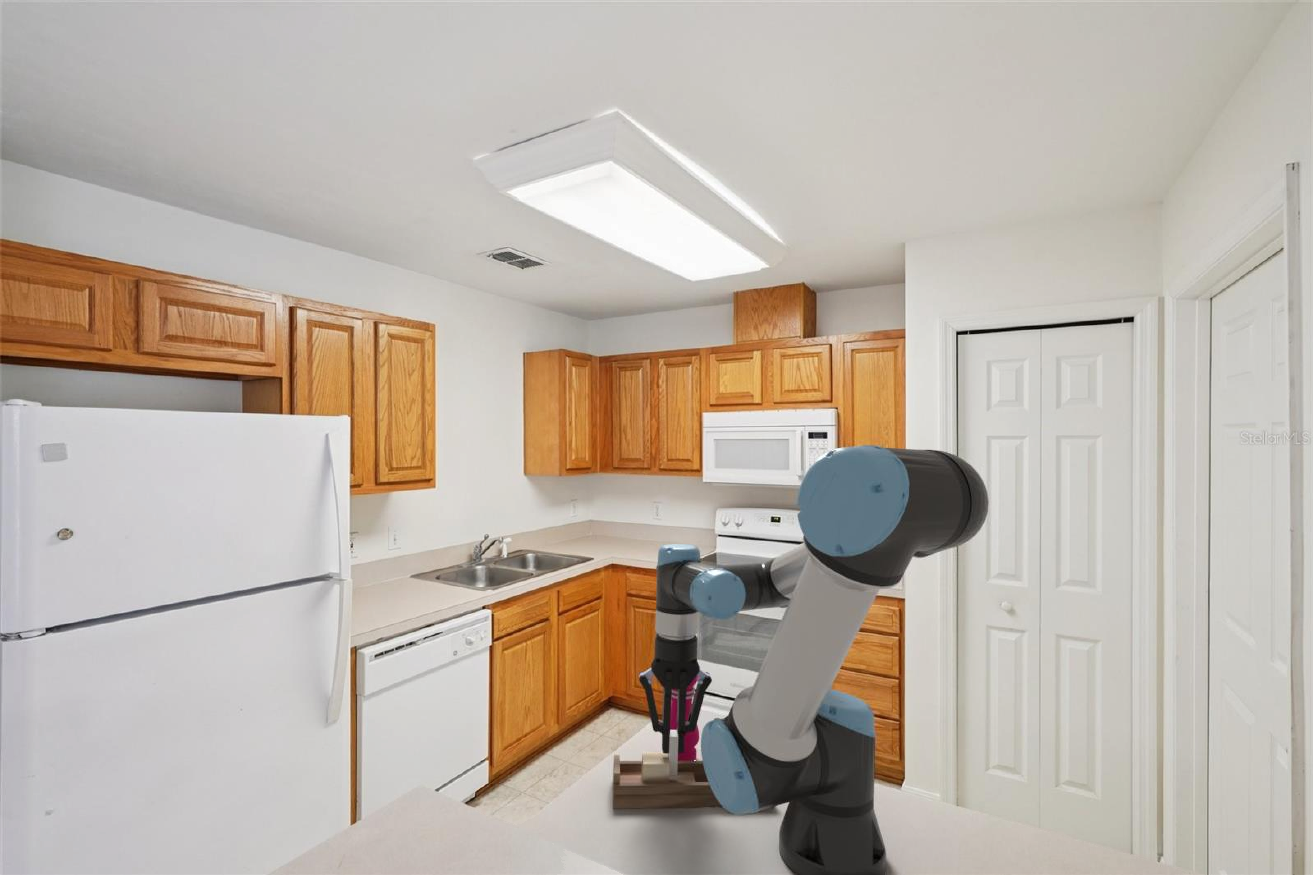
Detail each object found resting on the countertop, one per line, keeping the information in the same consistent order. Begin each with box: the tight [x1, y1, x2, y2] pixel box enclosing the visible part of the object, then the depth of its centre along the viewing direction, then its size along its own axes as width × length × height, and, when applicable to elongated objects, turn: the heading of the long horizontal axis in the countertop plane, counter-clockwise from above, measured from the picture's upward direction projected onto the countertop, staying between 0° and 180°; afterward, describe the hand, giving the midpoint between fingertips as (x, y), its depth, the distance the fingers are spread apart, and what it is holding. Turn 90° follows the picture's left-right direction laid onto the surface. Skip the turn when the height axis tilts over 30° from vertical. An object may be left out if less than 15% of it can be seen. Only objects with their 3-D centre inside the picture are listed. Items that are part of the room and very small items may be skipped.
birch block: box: [641, 751, 670, 782], centre depth 105 cm, size 4×4×4 cm
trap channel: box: [612, 754, 724, 809], centre depth 106 cm, size 9×27×5 cm, turn 94°
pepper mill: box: [670, 676, 700, 761], centre depth 119 cm, size 7×7×20 cm
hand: (672, 771), depth 106 cm, fingers closed
